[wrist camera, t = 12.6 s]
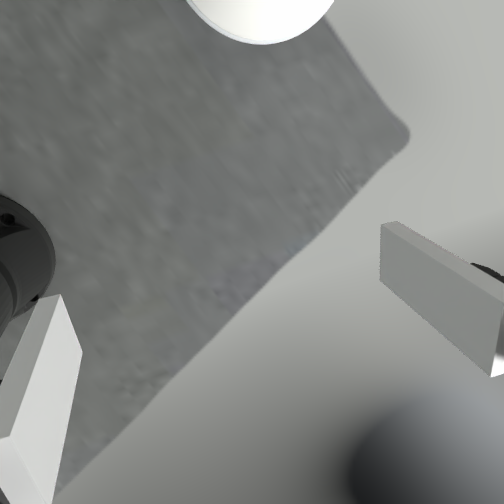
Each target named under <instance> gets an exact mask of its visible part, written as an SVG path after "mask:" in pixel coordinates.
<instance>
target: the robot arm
mask: <svg viewBox="0 0 504 504" xmlns="http://www.w3.org/2000/svg"><path fill="white" fill-rule="evenodd" d="M55 262H56V260H55V251H54V247H53V244H52V241H51V239H50V237H49V235H48V233H47V231H46V230H45V228H44V227H43V225H42V224H41V223H40V222H39V221H38V220H37V219H36V218H35V217H34V216H33V215H32V214H31V213H30V212H29V211H27V210H26V209H25V208H23V207H22V206H20V205H18V204H17V203H15V202H13V201H11V200H9V199H7V198H4V197H2V196H0V337H1V335H2V334H3V332H4V330H5V328H6V327H7V325H8V323H9V322H10V321H11V320H13V319H15V318H16V317H18V316H20V315H21V314H23V313H25V312H26V311H28V310H29V309H30V308H32V307H33V306H34V305H35V304H36V303H37V304H36V306H35V309H34V311H33V313H32V315H31V318H30V320H29V322H28V324H27V327H26V329H25V331H24V333H23V336H22V338H21V340H20V342H19V345H18V347H17V349H16V351H15V354H14V356H13V358H12V360H11V363H10V365H9V367H8V369H7V372H6V374H5V376H4V378H3V380H0V504H52V499H53V494H54V489H55V484H56V479H57V474H58V470H59V465H60V460H61V455H62V450H63V445H64V440H65V436H66V431H67V426H68V421H69V416H70V411H71V406H72V401H73V397H74V392H75V387H76V382H77V377H78V372H79V367H80V363H81V358H82V353H83V352H82V350H81V347H80V344H79V342H78V339H77V336H76V334H75V331H74V328H73V326H72V323H71V321H70V318H69V315H68V313H67V310H66V307H65V305H64V302H63V299H62V297H61V294H59V295H54V296H50V297H45V298H42V296H43V295H44V293H45V292H46V290H47V288H48V286H49V284H50V282H51V280H52V278H53V275H54V271H55ZM380 281H381V282H383V284H385V285H386V286H387V287H388V288H389V289H390V290H391V291H393V292H394V293H395V294H396V295H397V296H398V297H399V298H401V299H402V300H403V301H404V302H405V303H406V304H407V305H409V306H410V307H411V308H412V309H413V310H414V311H415V312H417V313H418V314H419V315H420V316H421V317H422V318H423V319H425V320H426V321H427V322H428V323H429V324H430V325H431V326H433V327H434V328H435V329H436V330H437V331H438V332H439V333H440V334H442V335H443V336H444V337H445V338H446V339H447V340H449V341H450V342H451V343H452V344H453V345H454V346H456V347H457V348H458V349H459V350H460V351H461V352H462V353H463V354H464V355H466V356H467V357H468V358H469V359H470V360H471V361H473V362H474V363H475V364H476V365H477V366H478V367H479V368H480V369H482V370H483V371H484V372H485V373H486V374H487V375H488V376H490V377H494V376H497V375H500V374H503V373H504V276H501V275H500V274H499V273H497V272H495V271H493V270H491V269H490V268H488V267H484V266H481V265H478V264H475V263H470V264H469V263H468V262H466V261H464V260H462V259H461V258H459V257H458V256H456V255H454V254H453V253H451V252H449V251H447V250H446V249H444V248H442V247H441V246H439V245H437V244H435V243H434V242H432V241H430V240H429V239H427V238H425V237H423V236H422V235H420V234H418V233H417V232H415V231H413V230H411V229H409V228H408V227H406V226H405V225H403V224H401V223H400V222H398V221H395V222H390V223H385V224H382V225H381V242H380Z"/></svg>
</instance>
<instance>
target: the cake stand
mask: <svg viewBox="0 0 504 504" xmlns="http://www.w3.org/2000/svg"><path fill="white" fill-rule="evenodd" d="M186 1H187V3H188V4H189V6H190V7H191V8H192V9H193V10H194V12H195V13H196V14H197V15H198V16H199V17H200V18H201V19H202V20H203V21H204V22H205V23H207V24H208V25H209V26H210V27H212V28H213V29H215V30H216V31H217V32H219V33H221V34H223V35H225V36H227V37H229V38H231V39H234V40H237V41H240V42H243V43H249V44H262V45H265V44H273V43H278V42H282V41H285V40H289V39H291V38H293V37H295V36H298V35H299V34H301V33H303V32H304V31H306V30H307V29H309V28H310V27H311V26H312V25H314V24H315V23H316V22H317V21H318V20H319V19H320V18H321V17H322V16H323V15H324V14H325V13H326V11H327V10H328V9H329V7H330V6H331V4H332V3H333V2H334V0H186Z"/></svg>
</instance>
